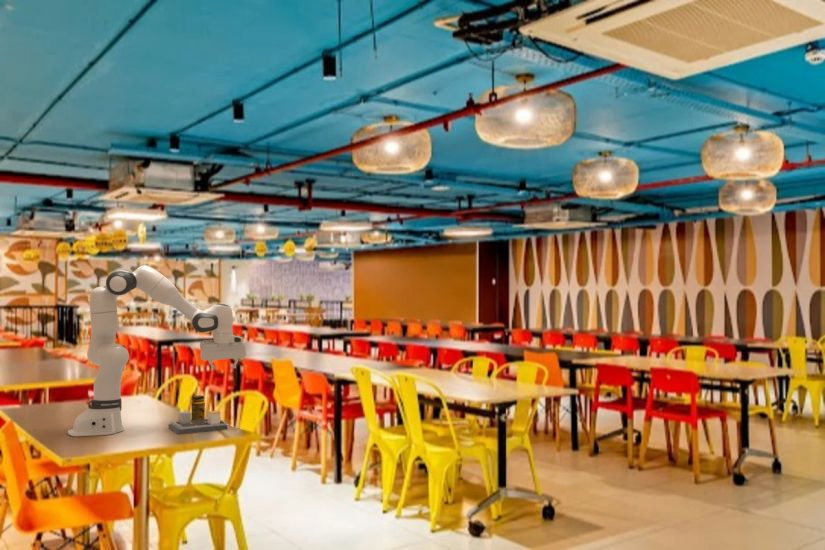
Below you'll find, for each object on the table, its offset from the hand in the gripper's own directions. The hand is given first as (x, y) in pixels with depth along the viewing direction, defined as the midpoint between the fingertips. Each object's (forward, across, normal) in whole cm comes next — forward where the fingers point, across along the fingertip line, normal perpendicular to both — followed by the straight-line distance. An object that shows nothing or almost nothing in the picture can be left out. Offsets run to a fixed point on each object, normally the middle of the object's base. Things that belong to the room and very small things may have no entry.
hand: (223, 369), depth 338 cm
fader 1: (+24, -17, +2) cm, 29 cm away
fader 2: (+24, -5, -4) cm, 25 cm away
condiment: (+27, -10, +19) cm, 34 cm away
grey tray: (+26, -12, -1) cm, 29 cm away
